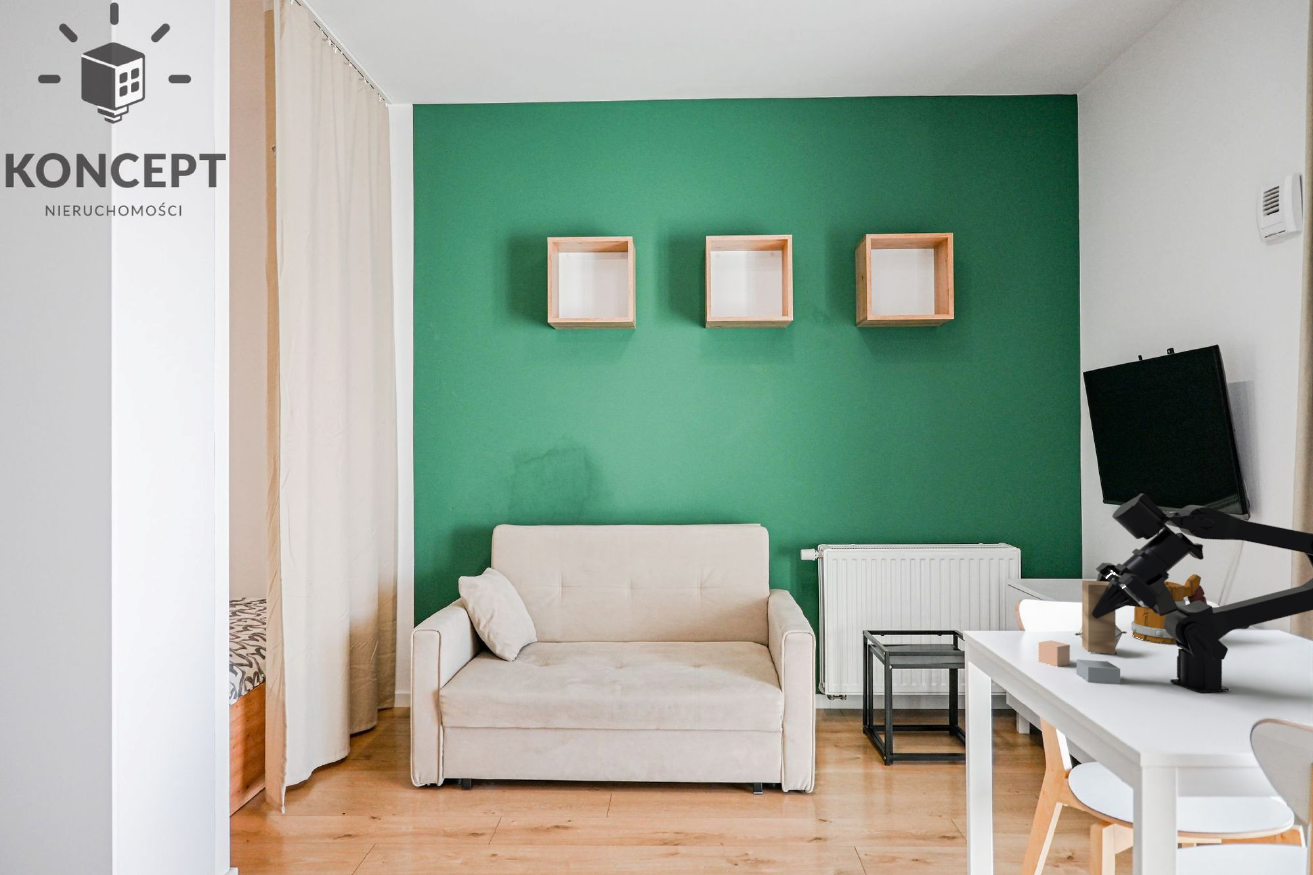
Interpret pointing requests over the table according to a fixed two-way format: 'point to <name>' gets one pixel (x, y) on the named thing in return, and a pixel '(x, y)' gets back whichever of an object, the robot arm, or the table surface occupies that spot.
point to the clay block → (1054, 653)
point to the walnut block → (1097, 620)
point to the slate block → (1098, 671)
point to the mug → (1152, 624)
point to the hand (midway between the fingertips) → (1090, 614)
